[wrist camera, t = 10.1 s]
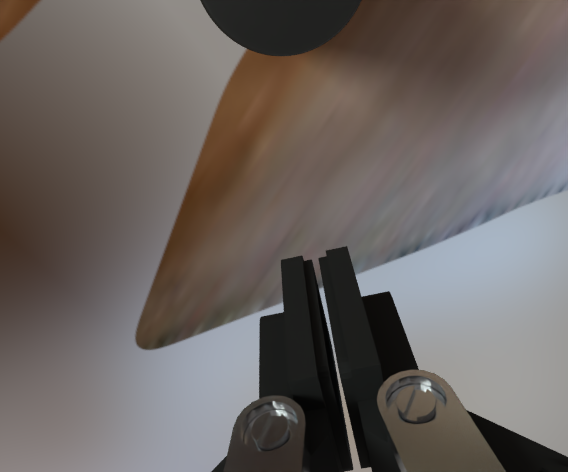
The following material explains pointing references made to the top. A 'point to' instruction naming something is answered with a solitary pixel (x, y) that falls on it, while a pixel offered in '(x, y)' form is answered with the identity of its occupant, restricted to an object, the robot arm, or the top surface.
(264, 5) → the jar
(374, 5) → the top surface
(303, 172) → the top surface
